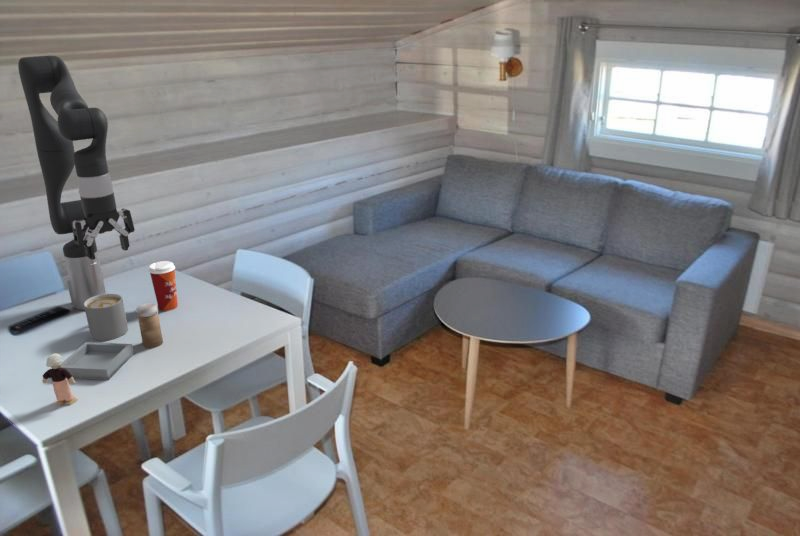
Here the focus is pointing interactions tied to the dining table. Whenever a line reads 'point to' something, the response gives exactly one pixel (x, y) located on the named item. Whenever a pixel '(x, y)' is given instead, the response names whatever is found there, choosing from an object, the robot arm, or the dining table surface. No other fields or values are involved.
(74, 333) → the dining table surface
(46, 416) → the dining table surface
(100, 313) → the coffee mug
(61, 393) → the grandmother figurine
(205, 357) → the dining table surface
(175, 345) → the dining table surface
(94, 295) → the robot arm
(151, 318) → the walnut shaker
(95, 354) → the stoneware tray
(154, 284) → the paper cup
